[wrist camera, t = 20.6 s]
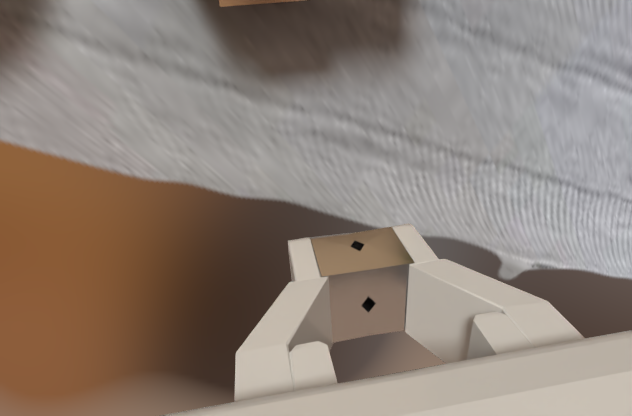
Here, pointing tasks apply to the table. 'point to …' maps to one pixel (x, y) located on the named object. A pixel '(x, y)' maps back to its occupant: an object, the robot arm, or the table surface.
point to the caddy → (249, 2)
